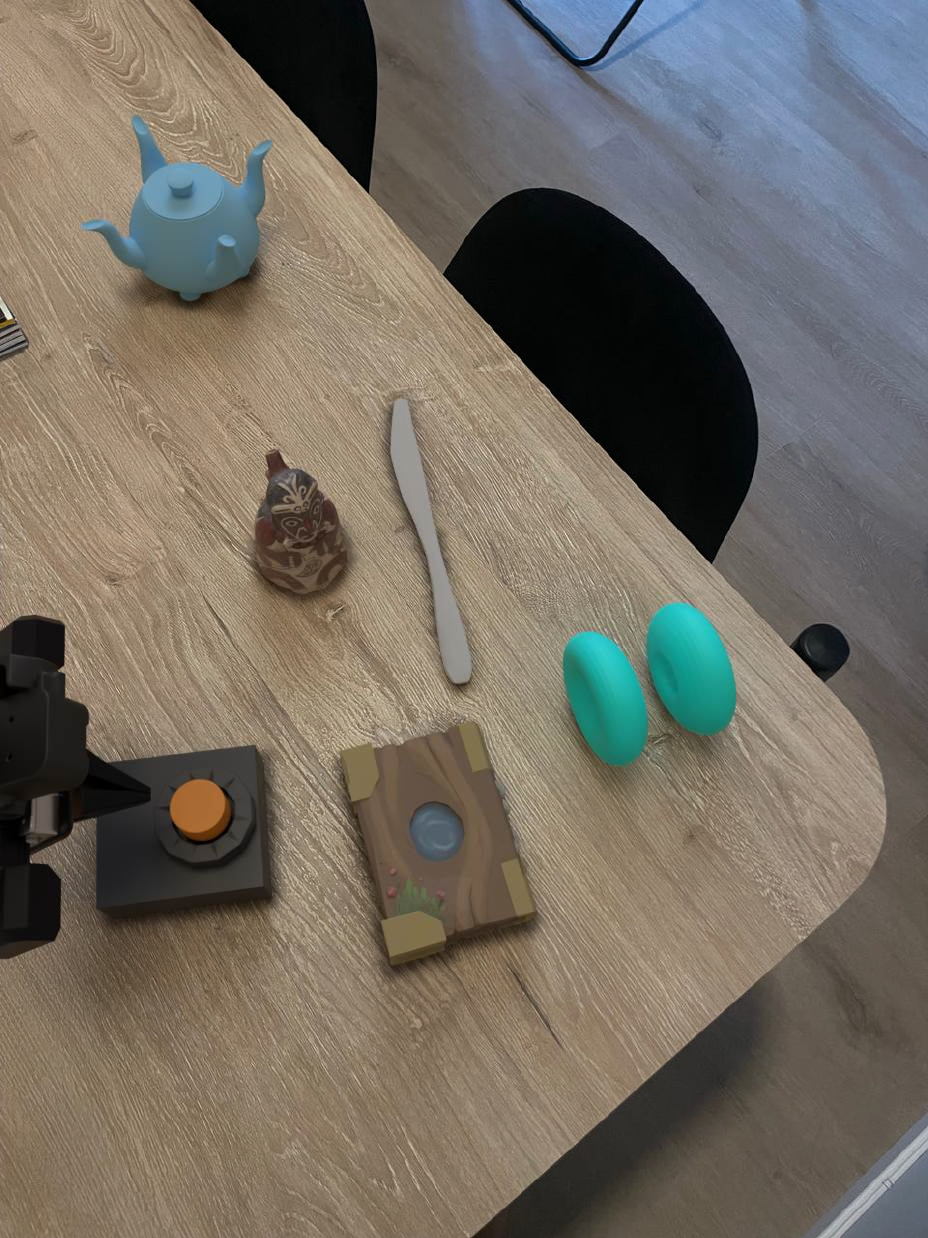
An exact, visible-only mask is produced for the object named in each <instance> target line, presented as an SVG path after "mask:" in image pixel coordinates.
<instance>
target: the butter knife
mask: <svg viewBox="0 0 928 1238" xmlns="http://www.w3.org/2000/svg"><path fill="white" fill-rule="evenodd" d="M392 410H393V411H392V417H391V429H390V450H389V452H390V458H391V463H392V466H393V470H394V473H395V477H396V479H397V483H398V487H399V490H400V492H401V496H402V499H403V501H404V504H405V506H406V507H407V510H408V512H409V513H410V517H411V520H412V521H413V523H414V525H415V528H416V532H417V535H418V538H419V540H420V543H421V545H422V548H423V551H424V553H425V557H426V563H427V568H428V572H429V579H430V582H431V589H432V600H433V611H434V621H435V627H436V634H437V639H438V647H439V651H440V656H441V660H442V664H443V670H444V672H445V675H446V676H447V678H448V679H449V680H450V682H451V683H452V684H454V685H463V684H466V683H468V682H469V681H470V680H471V675H472V671H473V667H472V666H473V665H472V658H471V654H470V653H471V652H470V647H469V644H468V639H467V636H466V633H465V632H466V631H465V627H464V624H463V621H462V617H461V614H460V609H459V607H458V604H457V601H456V598H455V596H454V593H453V589H452V587H451V583H450V580H449V577H448V574H447V573H448V572H447V570H446V566H445V562H444V559H443V555H442V552H441V548H440V544H439V540H438V539H439V538H438V535H437V531H436V527H435V521H434V516H433V511H432V506H431V502H430V497H429V492H428V487H427V482H426V481H427V480H426V477H425V473H424V467H423V464H422V459H421V458H422V457H421V454H420V450H419V446H418V442H417V439H416V435H415V431H414V430H415V429H414V426H413V422H412V421H413V420H412V415H411V411H410V407H409V403H408V399H405V398H402V397H400V398H398V399H396V400H395V401H394V403H393V409H392Z"/></svg>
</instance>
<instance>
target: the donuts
mask: <svg viewBox="0 0 928 1238" xmlns="http://www.w3.org/2000/svg"><path fill="white" fill-rule="evenodd" d="M645 640H646V643H645V647H646V648H645V649H646V658H647V664H648V668H649V673H650V675H651V679H652V682H653V684H654V687H655V689H656V692H657V694H658V696H659V698H660V700H661V702H662V704H663V705H664V706H665V708H666V710H667V711H668V713H669V714H670V716H672V718H673V719H674V720H675V721H676V722H677V723H678V724H679V725H681V726H682V727H683V728H684V729H686V730H687V731H689V732H692V733H694V734H697V735H702V736H713V735H715V734H718V733H720V732H723V731H724V730H725V729H726V728H727V727H728V725H729V724H730V723H731V722H732V719H733V717H734V715H735V712H736V707H737V686H736V679H735V675H734V671H733V667H732V663H731V660H730V658H729V655H728V652H727V649H726V646H725V645H724V642H723V640H722V639H721V637H720V635H719V633H718V632H717V629H715V626H714V625H713V623H712V622H711V621H710V620H709V619H708V618H707V616H706V615H704V613H703V612H701V610H699V609H697V608H696V607H695V606H693V605H691V604H688V603H685V602H671V603H668V604H665V605H664V606H662V607H660V608H659V609H658V610H657V611H656V612H655V613H654V615H653V616H652V618H651V620H650V622H649V624H648V628H647V632H646V639H645ZM562 671H563V672H562V674H563V681H564V686H565V690H566V694H567V697H568V701H569V704H570V707H571V710H572V713H573V716H574V718H575V721H576V723H577V725H578V727H579V730H580V732H581V734H582V735H583V738H584V739H585V741H586V743H587V744H588V746H589V748H590V749H591V750H592V751H593V753H594V754H595V756H597V757H598V759H600V760H601V761H602V762H604V763H606V764H608V765H611V766H614V767H623V766H629V765H630V764H631V763H633V762H635V761H636V760H637V759H638V758H639V757H640V756H641V754H642V753H643V751H644V749H645V746H646V743H647V739H648V733H649V717H648V710H647V704H646V701H645V697H644V692H643V690H642V686H641V684H640V681H639V679H638V676H637V674H636V672H635V670H634V667H633V666H632V664H631V662H630V660H629V658H628V657H627V656H626V654H625V653H624V651H622V649H621V648H620V647H619V646H618V645H617V644H616V643H615V642H614V641H613V640H612V639H610V638H609V637H608V636H606V635H604V634H602V633H599V632H596V631H591V630H589V631H582V632H579V633H576V634H575V635H574V636H572V637H571V638H570V639H569V640H568V641H567V644H566V645H565V647H564V649H563V656H562Z"/></svg>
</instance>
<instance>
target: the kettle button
mask: <svg viewBox="0 0 928 1238" xmlns="http://www.w3.org/2000/svg"><path fill="white" fill-rule="evenodd" d="M170 815H171V818H172V820H173V822H174V823H175V825H176V826H177V827H178V828H179V829H180V831H181V832H182V833H183V834H184V835H185V836H187V837H188V838H190V839H192V840H196V841H207V840H211V839H213V838H216V837H217V836H219V835H220V834H221V833H222V832H223V831H224V830H225V829H226V827H227V826H228V824H229V821H230V818H231V807H230V804H229V802H228V800H227V798H226V797H225V795H224V793H223V792H222V790H221V789H220V788H219V787H218V786H217V785H216V784H215V783H213V782H211V781H208V780H203V779H198V780H192V781H189V782H187V783H185V784H184V785H182V786H181V787H180V788H179V789H178V790H177V791H176V792H175V794H174V795H173V797H172V800H171V803H170Z"/></svg>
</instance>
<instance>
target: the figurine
mask: <svg viewBox="0 0 928 1238" xmlns="http://www.w3.org/2000/svg"><path fill="white" fill-rule="evenodd" d="M264 456H265V461H266V465H267V468H268V469H267V470H265V471H264V475H265V477H266V479H267V481H268V484H267V487H266V491H265V497H264V498H263V500H261V502H260V504H259V506H258V508H257V511H256V513H255V519H254V527H253V528H254V549H255V550H254V551H255V557H256V560H257V565H258V567H259V569H260V571H261V573H262V575H263V576H264V577H265V578H266V579H267V580H268V581H270V582H272V583H274V584H275V585H277V586H278V587H281V588H284V589H287V590H291V591H292V592H293V593H296V594H299V595H300V594H301V595H306V594H310V593H312V592H314V591H321V590H323V589H325V588H327V587H328V586H329V585H330V583H331V582H332V581H333V580H334V579H335V578H336V577H337V576H338V574H339V573H340V571H341V570H343V567H344V566H345V564H346V562H347V553H348V552H347V545H346V539H345V538H346V537H345V534H344V530H343V528H342V525H341V522H340V518H339V517H340V516H339V513H338V510H337V508H336V505H335V503H334V502H333V501H332V499H330V497H329V496H328V495H326V493H325V492H323V491H321V490H320V489H319V488H318V487H319V483H318V480H317V479H316V478H314V477H313V476H312V475H310V474H309V473H308V472H306V471H304V470H303V469H301V468H298V467H295V468H290V467H289V466H288V464H286V463H285V460H284V458H283V456H282V453H281V451H280V449H279V448H277V447H273V448H271V449H269V450H268V451H266V452H265V455H264Z"/></svg>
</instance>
